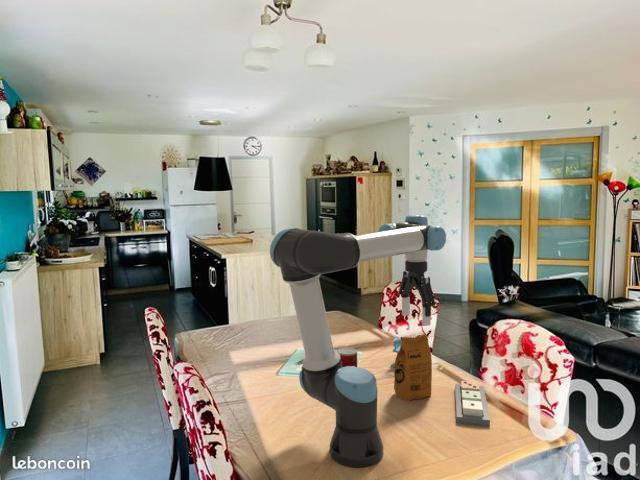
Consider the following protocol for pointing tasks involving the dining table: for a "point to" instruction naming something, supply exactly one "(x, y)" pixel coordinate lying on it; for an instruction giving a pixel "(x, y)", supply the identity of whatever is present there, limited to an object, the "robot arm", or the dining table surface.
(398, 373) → the coffee package
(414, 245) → the robot arm
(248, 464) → the dining table surface
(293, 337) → the dining table surface
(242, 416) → the dining table surface
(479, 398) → the tile two
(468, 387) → the tile three
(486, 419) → the tile tray
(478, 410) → the tile one
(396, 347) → the chair
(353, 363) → the canned food
